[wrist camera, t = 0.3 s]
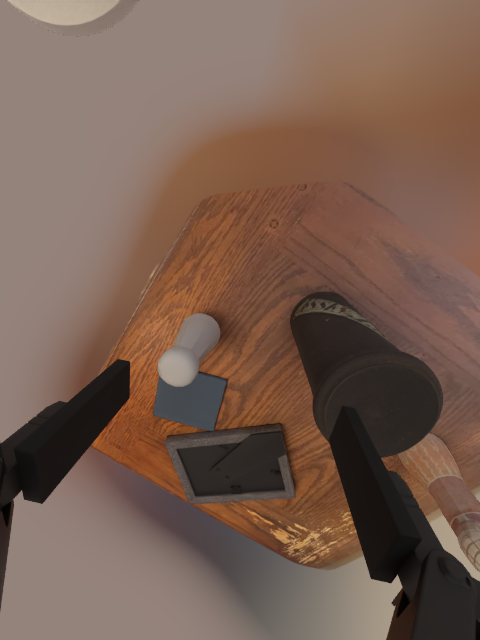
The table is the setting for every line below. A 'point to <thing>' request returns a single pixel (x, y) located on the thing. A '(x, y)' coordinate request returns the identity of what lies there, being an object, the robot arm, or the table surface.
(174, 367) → the salt shaker
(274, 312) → the table surface
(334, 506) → the table surface
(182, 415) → the mat
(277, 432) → the picture frame
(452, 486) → the vase
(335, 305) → the container
